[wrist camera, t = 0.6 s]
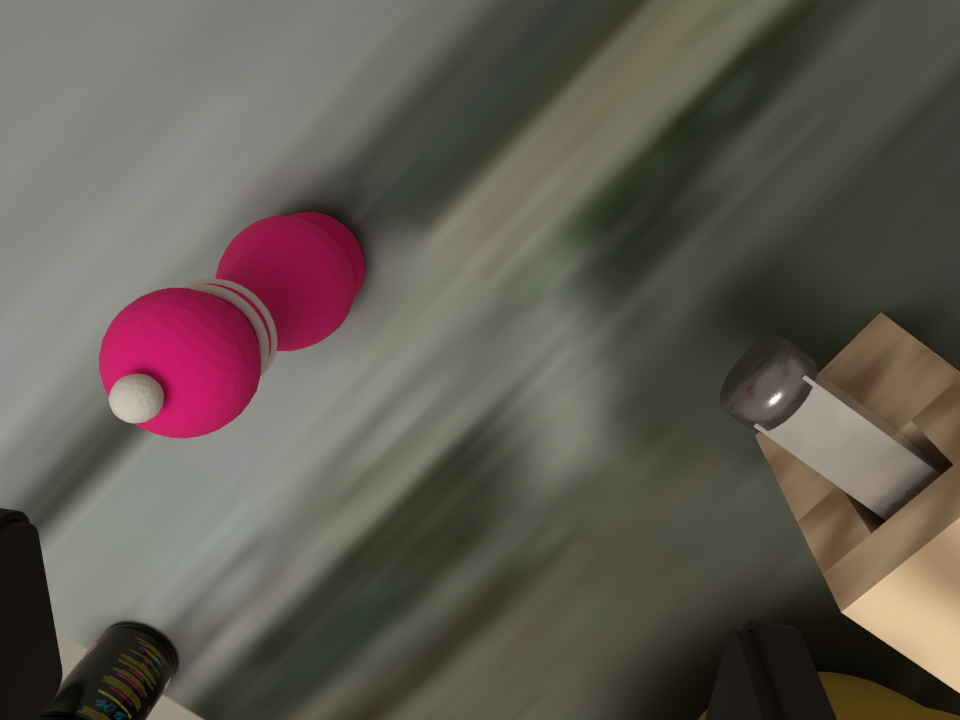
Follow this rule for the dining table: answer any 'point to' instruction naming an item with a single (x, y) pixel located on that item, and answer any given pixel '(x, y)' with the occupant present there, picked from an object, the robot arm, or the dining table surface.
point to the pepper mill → (230, 325)
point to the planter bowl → (871, 701)
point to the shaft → (826, 427)
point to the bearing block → (913, 529)
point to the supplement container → (116, 677)
